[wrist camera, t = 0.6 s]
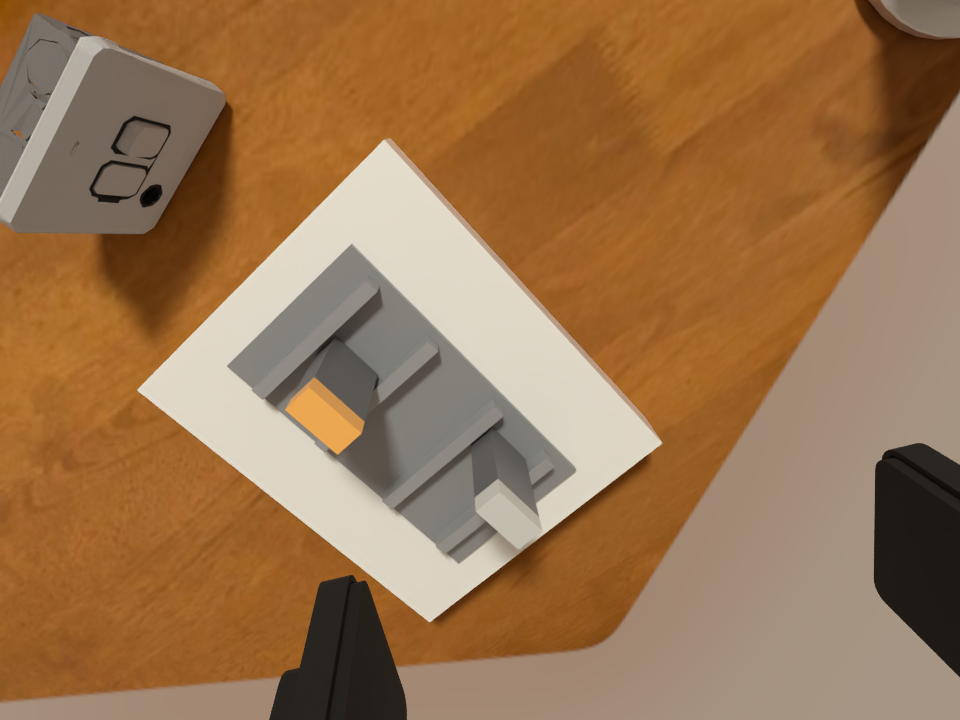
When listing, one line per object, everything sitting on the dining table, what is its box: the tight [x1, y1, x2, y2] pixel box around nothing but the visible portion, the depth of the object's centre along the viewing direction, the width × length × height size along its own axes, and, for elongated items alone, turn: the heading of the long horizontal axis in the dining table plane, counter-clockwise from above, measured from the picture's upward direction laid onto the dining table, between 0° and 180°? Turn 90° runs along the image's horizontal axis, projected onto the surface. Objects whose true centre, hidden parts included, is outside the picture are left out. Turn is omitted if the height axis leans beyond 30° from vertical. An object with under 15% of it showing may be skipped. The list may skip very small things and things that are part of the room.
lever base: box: [137, 138, 662, 622], centre depth 35 cm, size 20×24×11 cm
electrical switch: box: [0, 13, 226, 234], centre depth 30 cm, size 9×5×9 cm, turn 143°
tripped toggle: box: [285, 336, 378, 455], centre depth 32 cm, size 2×3×7 cm, turn 42°
